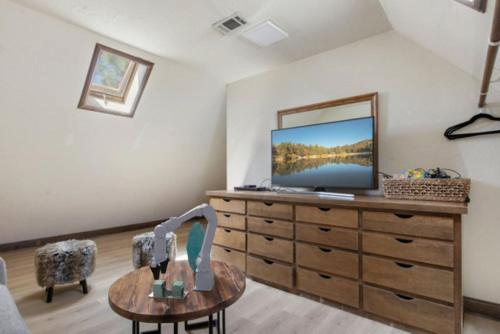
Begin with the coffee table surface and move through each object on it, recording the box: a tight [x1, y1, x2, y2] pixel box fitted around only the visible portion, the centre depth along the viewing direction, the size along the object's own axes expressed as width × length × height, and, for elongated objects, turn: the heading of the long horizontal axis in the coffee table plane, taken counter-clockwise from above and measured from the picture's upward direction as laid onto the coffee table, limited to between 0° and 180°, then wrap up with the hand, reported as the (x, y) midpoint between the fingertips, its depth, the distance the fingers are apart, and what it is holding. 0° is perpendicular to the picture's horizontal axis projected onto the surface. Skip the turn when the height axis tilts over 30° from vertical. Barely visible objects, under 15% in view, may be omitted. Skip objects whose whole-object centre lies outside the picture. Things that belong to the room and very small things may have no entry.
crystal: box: [185, 222, 206, 273], centre depth 160 cm, size 12×14×30 cm
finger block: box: [152, 279, 167, 296], centre depth 130 cm, size 4×5×6 cm
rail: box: [147, 280, 190, 300], centre depth 130 cm, size 18×7×6 cm, turn 84°
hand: (160, 276), depth 130 cm, fingers open, 7 cm apart
